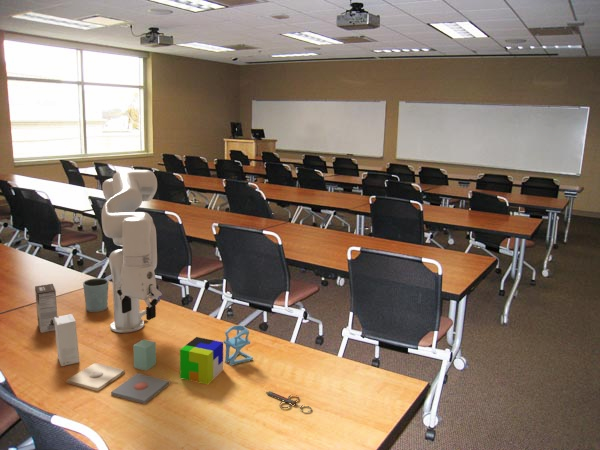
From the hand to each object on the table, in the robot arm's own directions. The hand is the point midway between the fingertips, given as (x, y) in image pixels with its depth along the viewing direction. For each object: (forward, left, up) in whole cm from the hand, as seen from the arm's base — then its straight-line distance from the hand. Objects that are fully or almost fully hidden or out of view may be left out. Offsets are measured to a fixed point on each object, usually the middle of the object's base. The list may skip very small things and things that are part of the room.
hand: (138, 315), depth 144 cm
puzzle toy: (-15, +12, -24) cm, 31 cm away
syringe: (-11, +43, -24) cm, 51 cm away
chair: (-28, +18, -24) cm, 41 cm away
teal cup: (-45, -58, -24) cm, 77 cm away
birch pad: (+1, -17, -24) cm, 29 cm away
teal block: (-12, -8, -24) cm, 27 cm away
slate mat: (+1, 0, -24) cm, 24 cm away
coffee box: (-22, -61, -24) cm, 69 cm away
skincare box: (-5, -34, -24) cm, 41 cm away
